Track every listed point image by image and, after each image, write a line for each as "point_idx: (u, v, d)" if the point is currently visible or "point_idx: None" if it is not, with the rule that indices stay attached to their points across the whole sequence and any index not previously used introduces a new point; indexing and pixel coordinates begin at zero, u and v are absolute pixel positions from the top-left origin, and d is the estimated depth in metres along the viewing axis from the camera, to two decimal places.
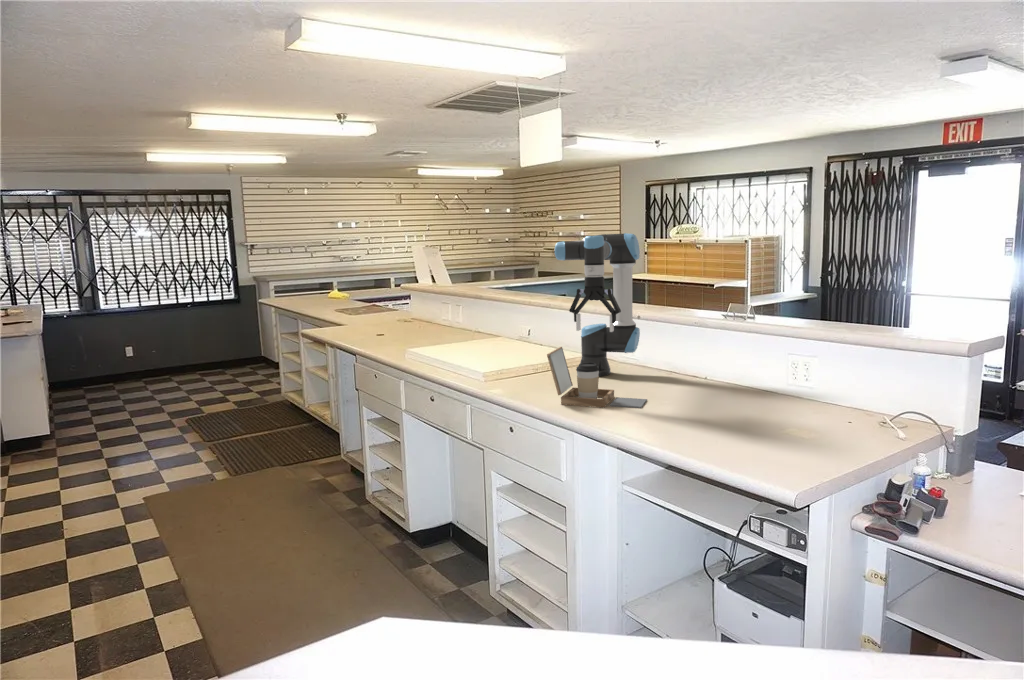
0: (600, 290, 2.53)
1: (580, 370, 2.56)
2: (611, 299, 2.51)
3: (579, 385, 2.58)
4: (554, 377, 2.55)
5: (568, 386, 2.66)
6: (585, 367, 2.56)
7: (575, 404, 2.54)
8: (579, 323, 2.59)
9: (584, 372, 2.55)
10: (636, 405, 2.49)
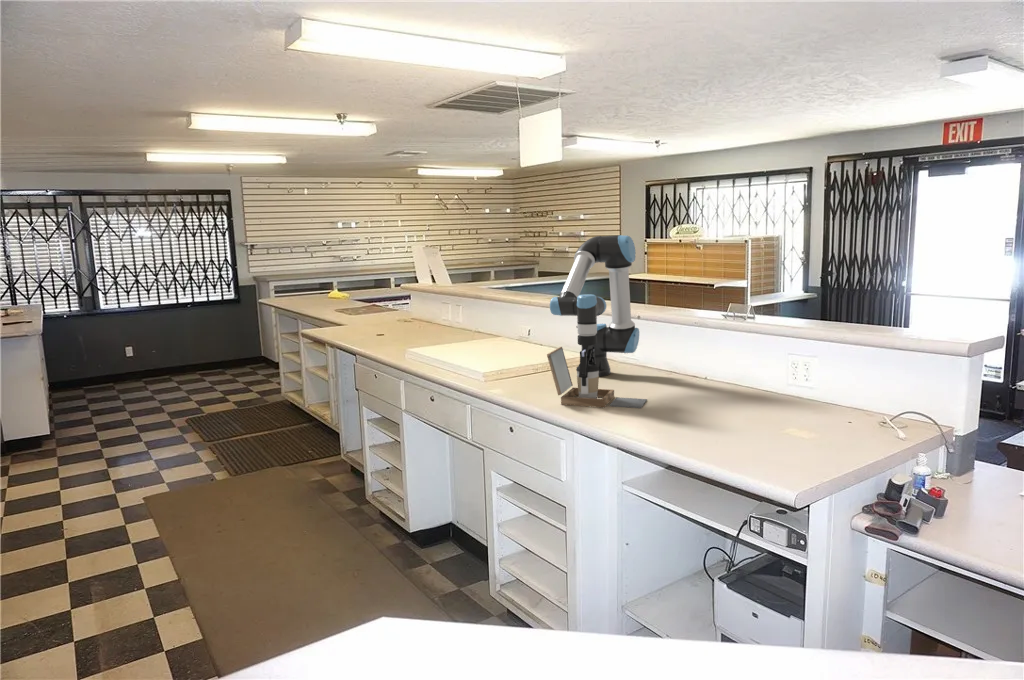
0: None
1: None
2: None
3: (579, 385, 2.58)
4: (554, 377, 2.55)
5: (568, 386, 2.66)
6: None
7: (575, 404, 2.54)
8: None
9: None
10: (636, 405, 2.49)
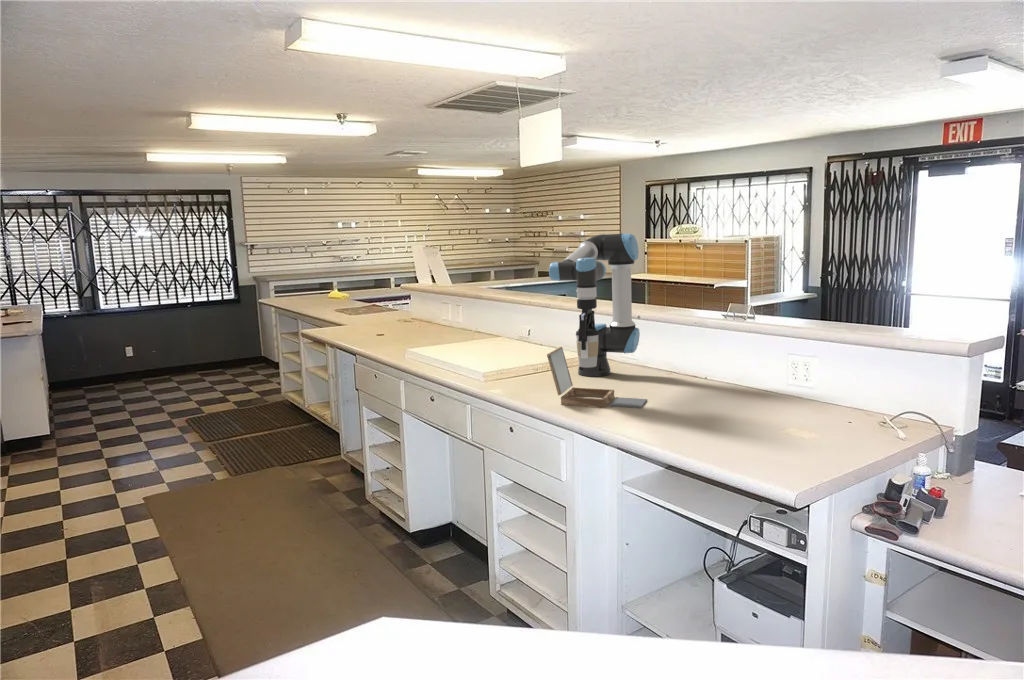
0: None
1: None
2: None
3: (579, 349, 2.56)
4: (554, 377, 2.55)
5: (568, 386, 2.66)
6: None
7: (575, 404, 2.54)
8: None
9: None
10: (636, 405, 2.49)
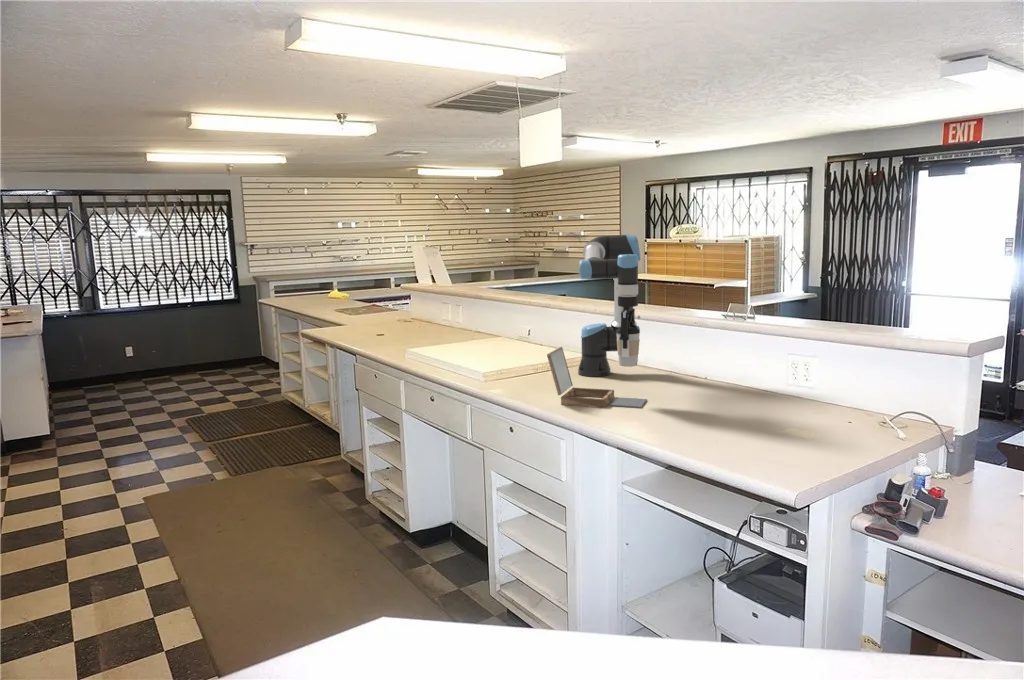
0: None
1: None
2: None
3: (619, 348, 2.50)
4: (554, 377, 2.55)
5: (568, 386, 2.66)
6: None
7: (575, 404, 2.54)
8: None
9: None
10: (636, 405, 2.49)
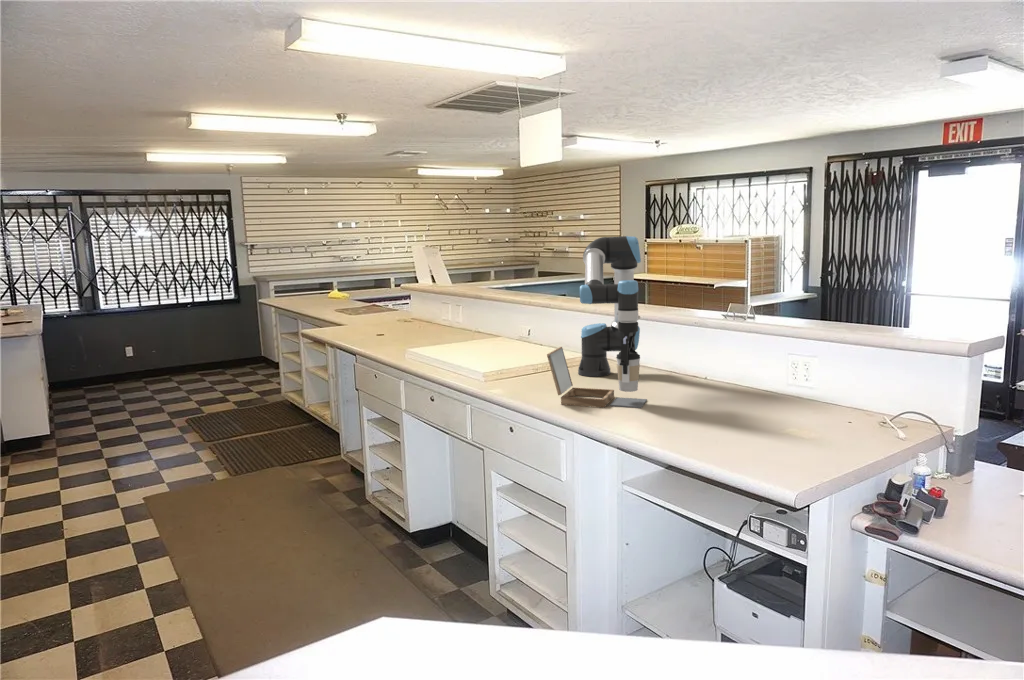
0: None
1: None
2: None
3: (619, 373, 2.51)
4: (554, 377, 2.55)
5: (568, 386, 2.66)
6: None
7: (575, 404, 2.54)
8: None
9: None
10: (636, 405, 2.49)
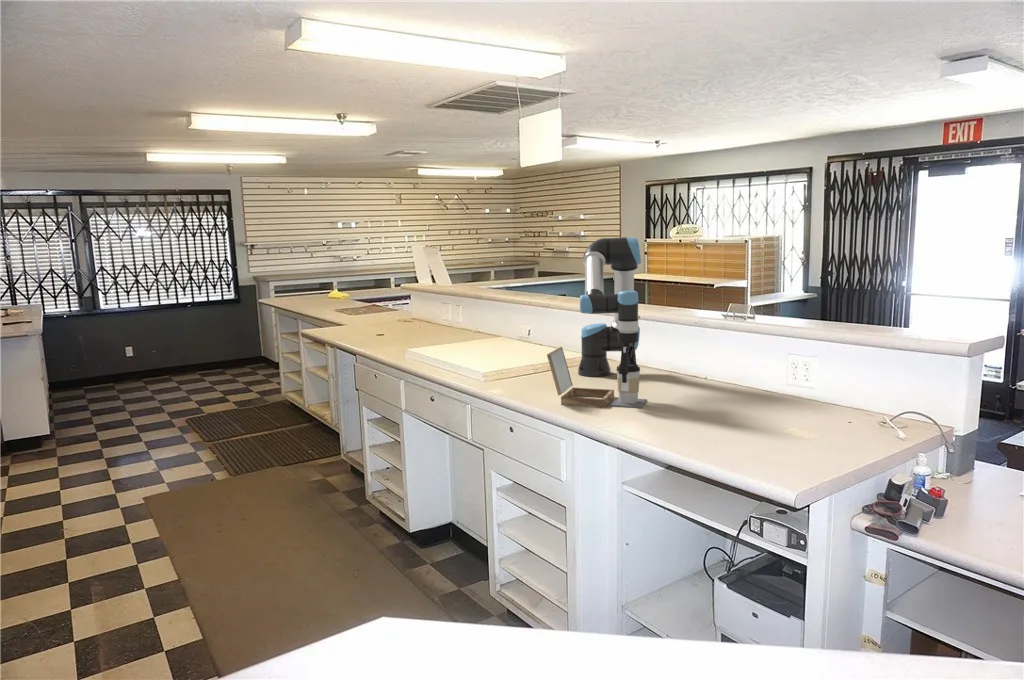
0: None
1: None
2: None
3: (620, 385, 2.52)
4: (554, 377, 2.55)
5: (568, 386, 2.66)
6: None
7: (575, 404, 2.54)
8: None
9: None
10: (636, 405, 2.49)
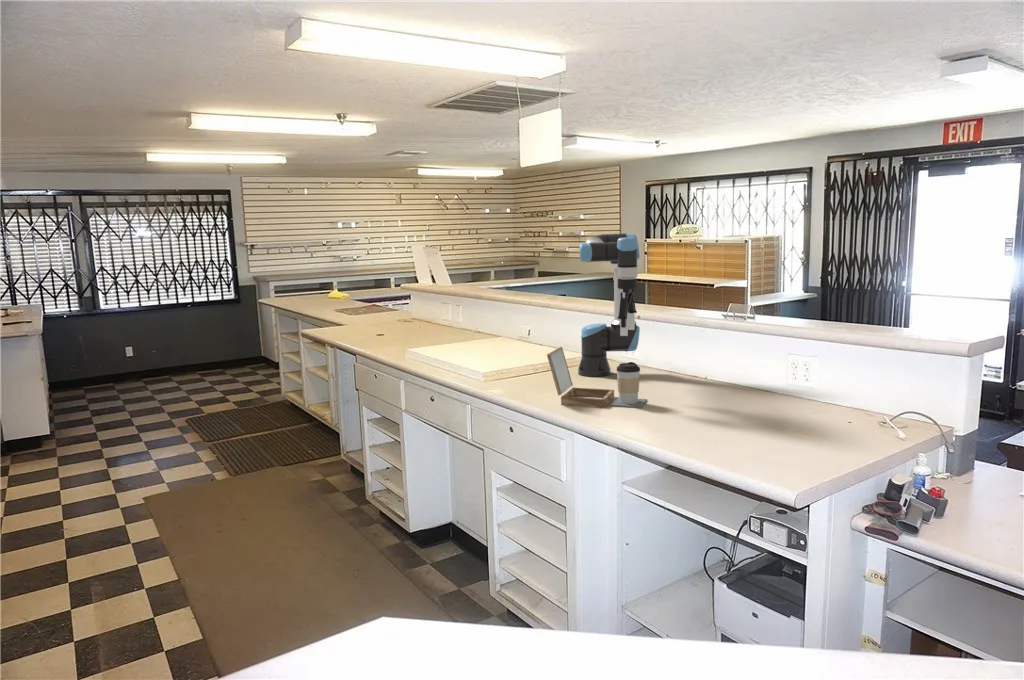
0: None
1: (621, 370, 2.50)
2: None
3: (620, 386, 2.52)
4: (554, 377, 2.55)
5: (568, 386, 2.66)
6: (626, 367, 2.50)
7: (575, 404, 2.54)
8: (629, 323, 2.63)
9: (625, 372, 2.49)
10: (636, 405, 2.49)
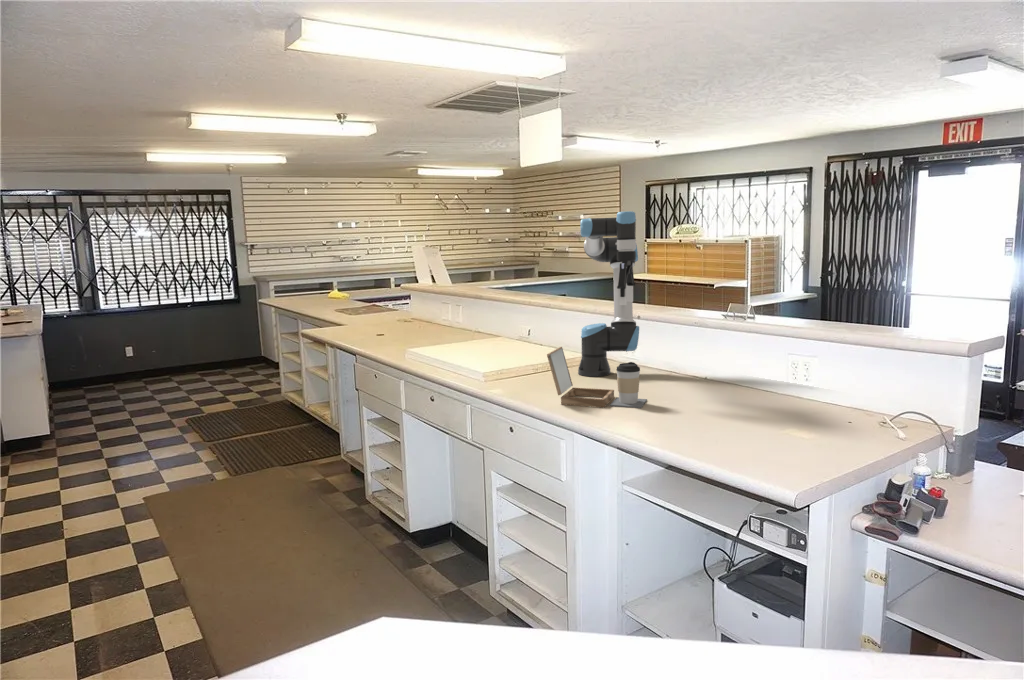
0: None
1: (621, 370, 2.50)
2: None
3: (620, 386, 2.52)
4: (554, 377, 2.55)
5: (568, 386, 2.66)
6: (626, 367, 2.50)
7: (575, 404, 2.54)
8: (628, 295, 2.74)
9: (625, 372, 2.49)
10: (636, 405, 2.49)
